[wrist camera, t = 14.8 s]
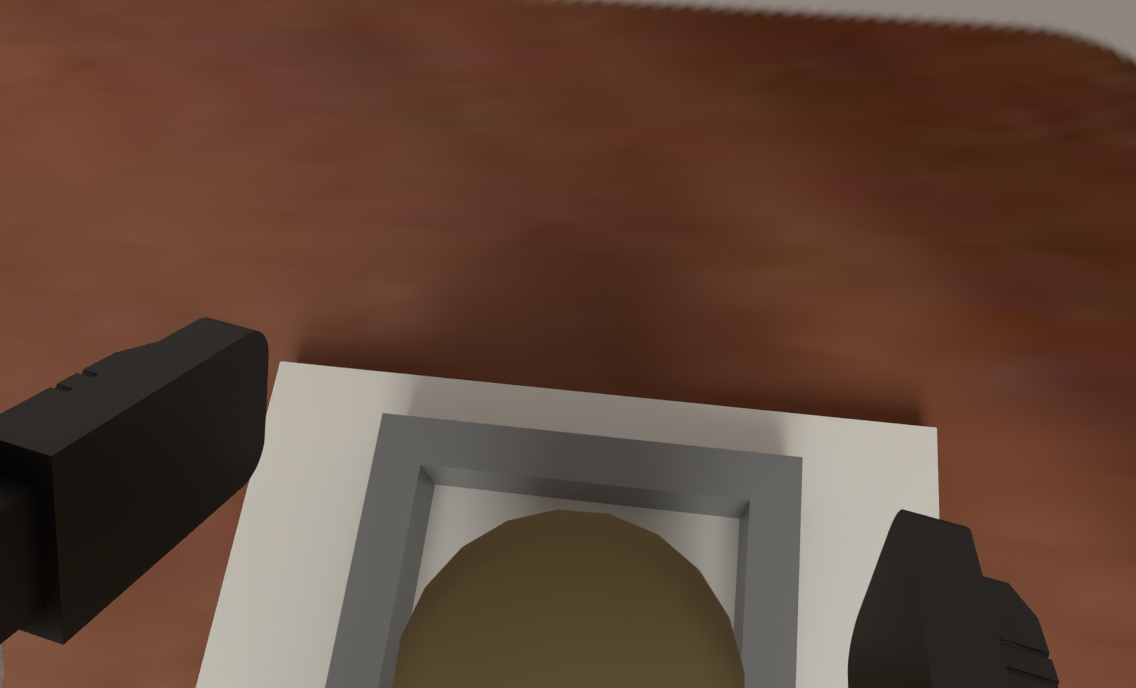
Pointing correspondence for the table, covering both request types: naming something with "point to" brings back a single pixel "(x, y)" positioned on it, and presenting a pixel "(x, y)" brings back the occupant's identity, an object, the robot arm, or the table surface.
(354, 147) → the table surface
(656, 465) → the socket board
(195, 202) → the table surface
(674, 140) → the table surface
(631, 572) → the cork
